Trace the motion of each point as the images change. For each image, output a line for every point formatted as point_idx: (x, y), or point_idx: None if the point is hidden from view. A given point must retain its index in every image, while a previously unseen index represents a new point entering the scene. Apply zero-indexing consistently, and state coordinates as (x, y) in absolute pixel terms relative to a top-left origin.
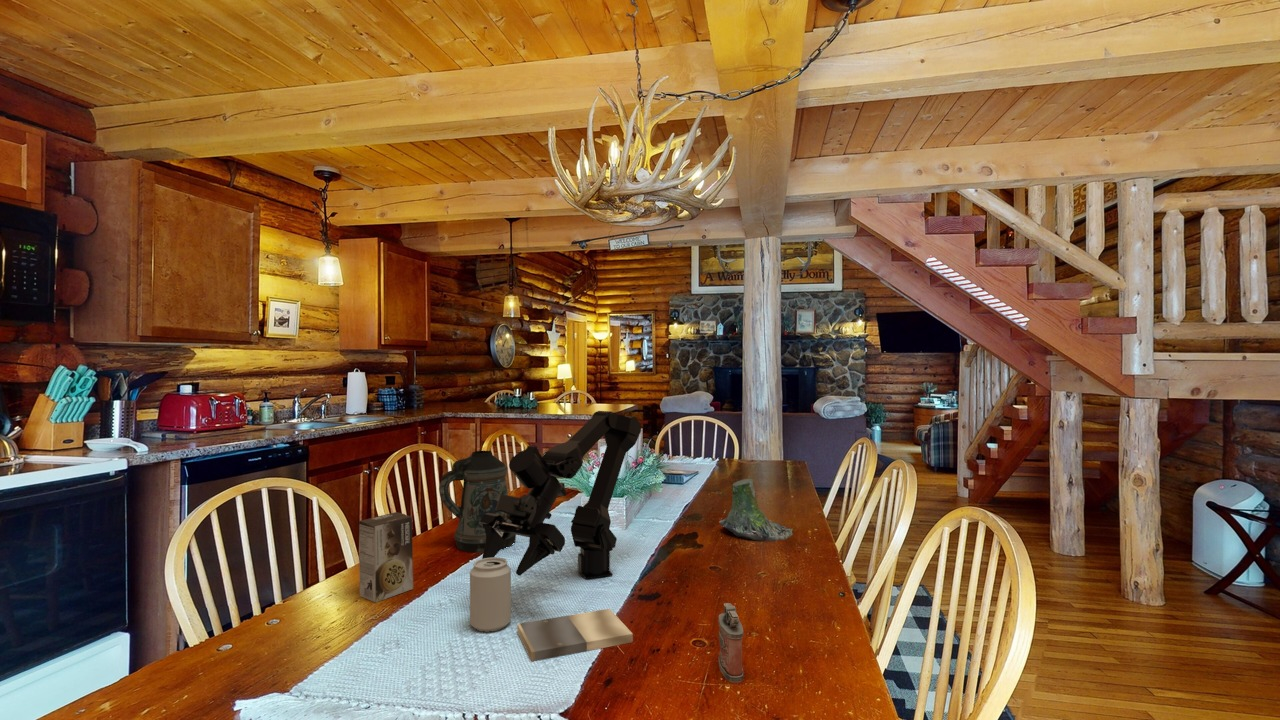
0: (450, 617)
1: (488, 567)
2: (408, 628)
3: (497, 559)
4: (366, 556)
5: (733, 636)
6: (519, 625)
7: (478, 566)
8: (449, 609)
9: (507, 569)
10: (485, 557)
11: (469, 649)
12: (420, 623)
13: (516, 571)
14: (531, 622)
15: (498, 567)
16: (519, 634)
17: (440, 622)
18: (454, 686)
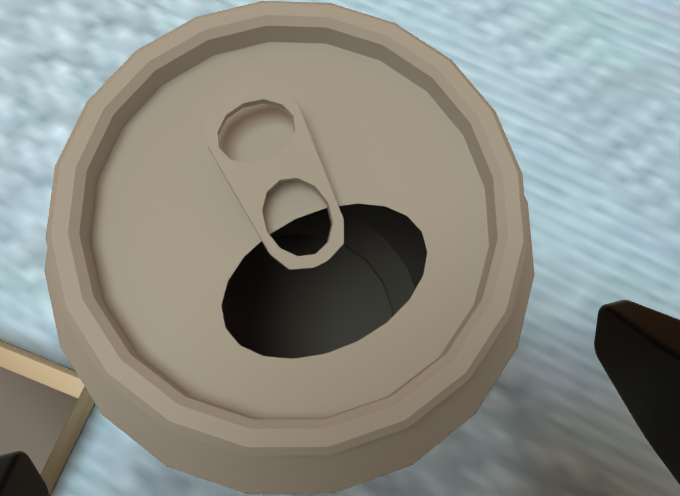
0: (547, 216)
1: (129, 79)
2: (549, 20)
3: (400, 388)
4: None
5: None
6: (56, 379)
7: (261, 13)
8: (657, 264)
9: (91, 364)
10: (663, 352)
11: None
12: (570, 80)
13: (3, 456)
14: None
15: (57, 193)
16: (40, 358)
17: (518, 151)
18: None
